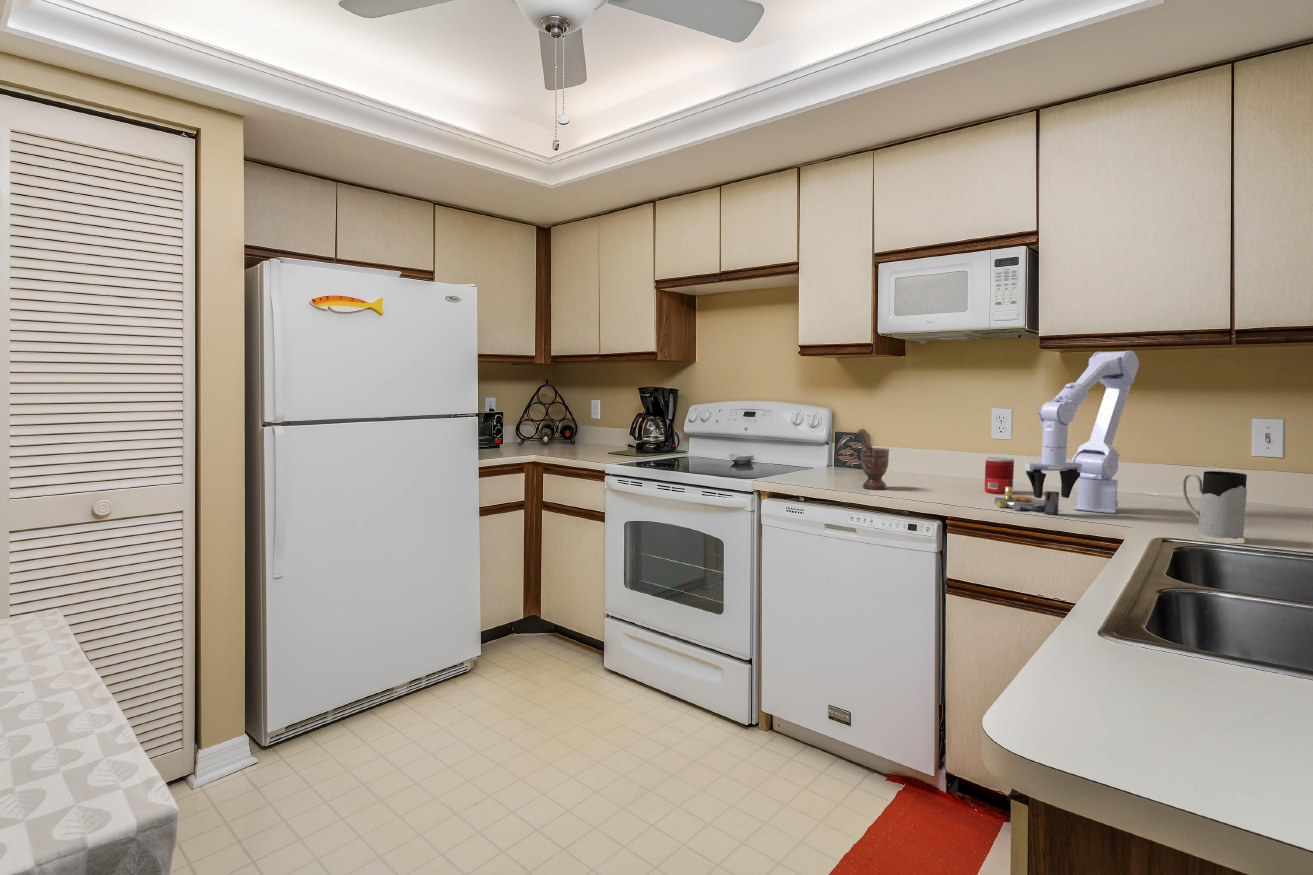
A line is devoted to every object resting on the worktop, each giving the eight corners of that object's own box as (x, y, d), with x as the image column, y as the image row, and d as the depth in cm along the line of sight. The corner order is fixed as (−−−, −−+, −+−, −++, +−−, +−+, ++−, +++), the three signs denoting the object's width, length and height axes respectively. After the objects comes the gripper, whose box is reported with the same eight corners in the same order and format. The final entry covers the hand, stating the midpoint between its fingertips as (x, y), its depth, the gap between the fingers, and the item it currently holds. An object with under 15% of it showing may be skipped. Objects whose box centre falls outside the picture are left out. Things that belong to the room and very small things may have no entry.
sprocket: (1031, 501, 201) (1032, 482, 200) (1065, 510, 186) (1066, 490, 186) (984, 501, 200) (984, 483, 199) (1013, 511, 185) (1014, 491, 185)
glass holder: (1222, 544, 150) (1227, 476, 149) (1164, 530, 164) (1168, 468, 163) (1256, 542, 151) (1261, 475, 150) (1196, 528, 165) (1200, 467, 164)
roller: (1058, 513, 184) (1059, 491, 183) (1057, 515, 181) (1058, 493, 181) (1044, 512, 186) (1046, 490, 185) (1043, 514, 183) (1044, 492, 182)
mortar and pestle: (878, 492, 217) (880, 429, 216) (852, 489, 223) (853, 428, 221) (891, 488, 226) (893, 427, 225) (866, 485, 232) (867, 426, 230)
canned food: (1015, 495, 213) (1017, 460, 212) (988, 494, 214) (989, 459, 213) (1008, 491, 220) (1009, 457, 219) (981, 490, 222) (983, 456, 221)
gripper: (1070, 445, 186) (1067, 494, 187) (1019, 445, 185) (1016, 495, 186) (1088, 448, 179) (1085, 499, 180) (1035, 448, 178) (1032, 499, 179)
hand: (1051, 497), depth 183 cm, fingers open, 7 cm apart
